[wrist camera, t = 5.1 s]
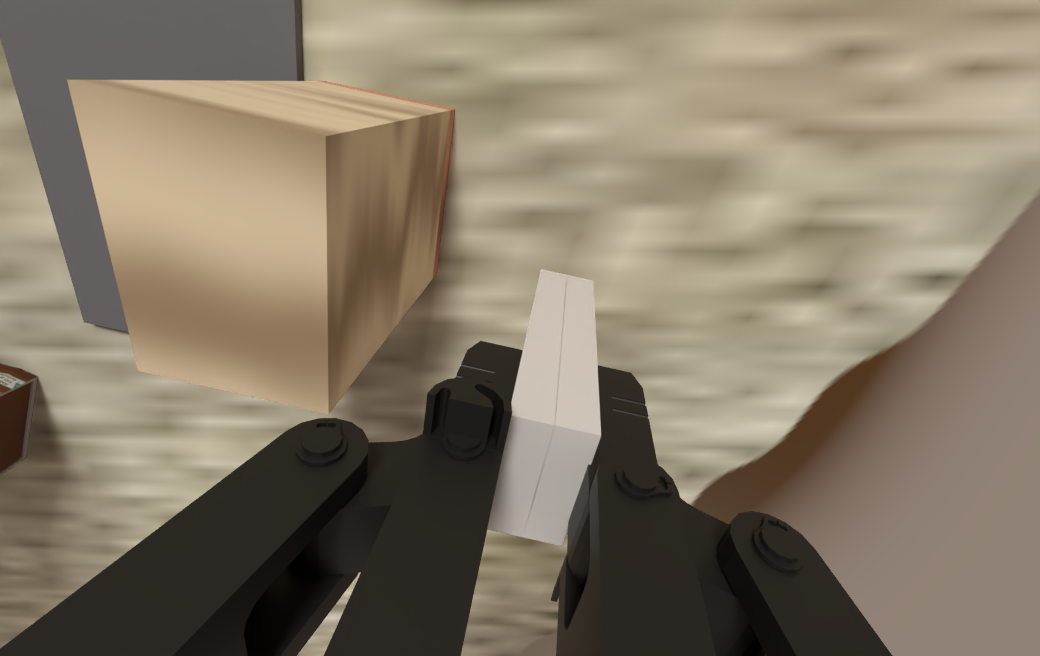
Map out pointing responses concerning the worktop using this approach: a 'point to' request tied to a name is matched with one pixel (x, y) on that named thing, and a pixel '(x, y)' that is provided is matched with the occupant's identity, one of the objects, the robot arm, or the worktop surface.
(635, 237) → the worktop surface
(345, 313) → the maple block
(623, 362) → the worktop surface
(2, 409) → the food container
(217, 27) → the rubber mat
